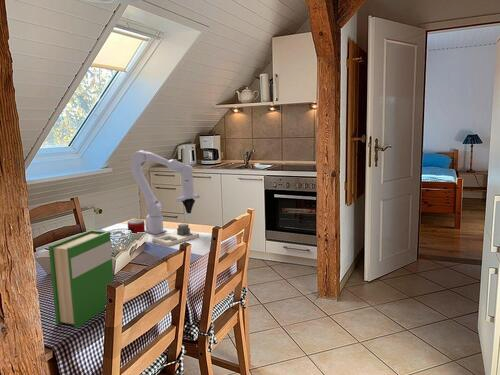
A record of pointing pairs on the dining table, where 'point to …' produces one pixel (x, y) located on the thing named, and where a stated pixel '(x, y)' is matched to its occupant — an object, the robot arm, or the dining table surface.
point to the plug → (183, 229)
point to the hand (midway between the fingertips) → (188, 213)
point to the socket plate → (174, 238)
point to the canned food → (136, 225)
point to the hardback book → (81, 276)
